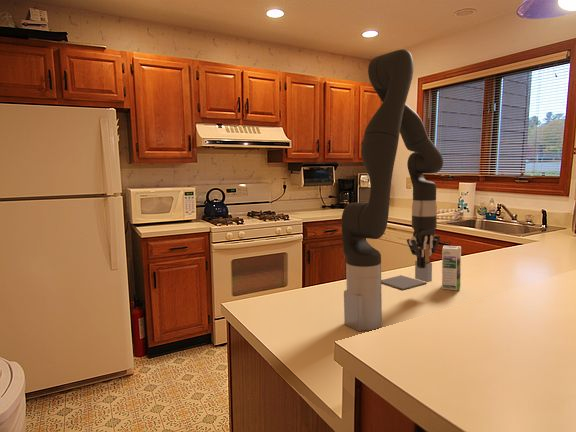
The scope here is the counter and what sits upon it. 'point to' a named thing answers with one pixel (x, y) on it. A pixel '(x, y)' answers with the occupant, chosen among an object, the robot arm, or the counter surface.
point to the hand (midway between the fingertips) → (423, 267)
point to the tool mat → (402, 282)
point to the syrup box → (451, 267)
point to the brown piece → (425, 272)
